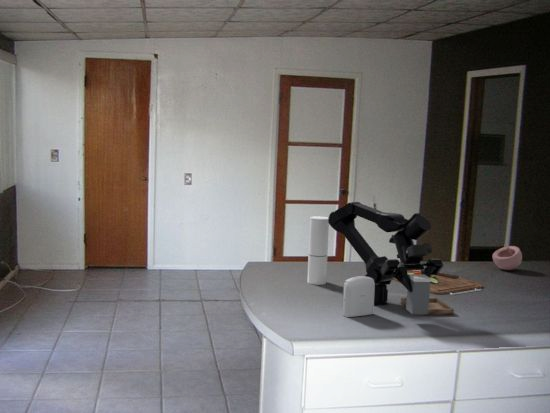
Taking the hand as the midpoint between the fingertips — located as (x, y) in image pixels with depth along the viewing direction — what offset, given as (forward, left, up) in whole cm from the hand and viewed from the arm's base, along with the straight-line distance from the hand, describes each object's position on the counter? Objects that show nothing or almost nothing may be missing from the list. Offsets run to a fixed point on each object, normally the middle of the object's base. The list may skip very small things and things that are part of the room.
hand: (419, 291), depth 168 cm
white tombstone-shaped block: (-16, +9, -10) cm, 21 cm away
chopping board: (+24, +54, -11) cm, 60 cm away
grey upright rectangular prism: (0, +1, -7) cm, 7 cm away
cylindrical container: (-21, +48, -10) cm, 53 cm away
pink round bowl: (+69, +69, -10) cm, 98 cm away
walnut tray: (+9, +15, -10) cm, 20 cm away
